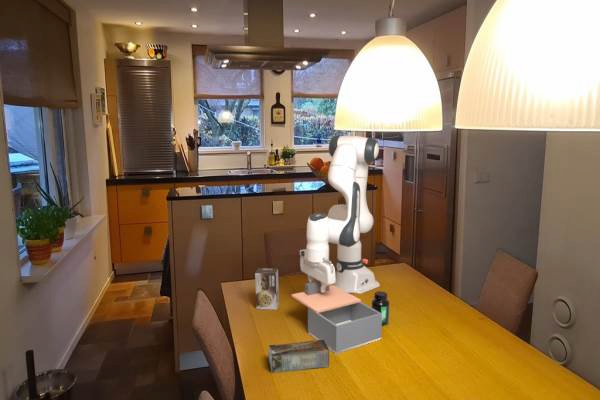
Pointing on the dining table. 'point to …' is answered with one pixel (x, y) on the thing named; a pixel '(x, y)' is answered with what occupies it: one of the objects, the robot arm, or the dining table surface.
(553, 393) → the dining table surface
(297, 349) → the beverage carton
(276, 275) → the coffee box
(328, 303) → the cover
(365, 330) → the storage box
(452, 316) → the dining table surface
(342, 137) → the robot arm
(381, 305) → the supplement bottle
